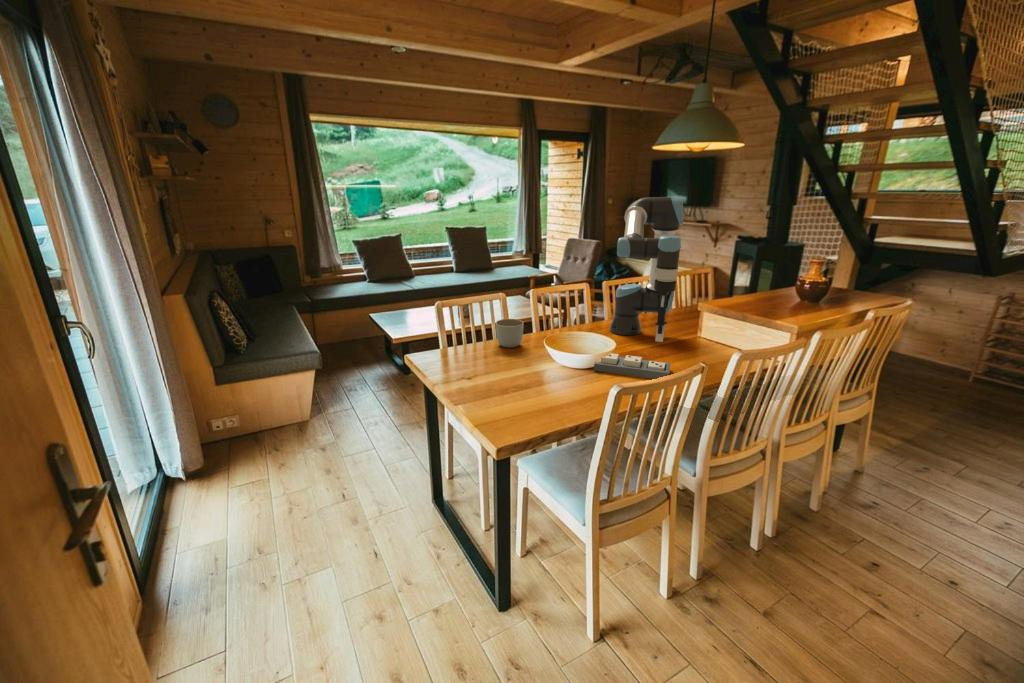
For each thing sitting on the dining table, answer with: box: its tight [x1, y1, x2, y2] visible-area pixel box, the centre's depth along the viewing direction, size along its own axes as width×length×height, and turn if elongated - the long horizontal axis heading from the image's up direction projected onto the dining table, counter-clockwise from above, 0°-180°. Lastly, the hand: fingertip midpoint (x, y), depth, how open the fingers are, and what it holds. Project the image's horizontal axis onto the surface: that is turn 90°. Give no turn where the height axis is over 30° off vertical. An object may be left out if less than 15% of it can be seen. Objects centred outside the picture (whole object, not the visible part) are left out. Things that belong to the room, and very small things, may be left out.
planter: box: [495, 318, 524, 349], centre depth 213 cm, size 12×12×11 cm
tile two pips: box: [624, 354, 643, 367], centre depth 184 cm, size 6×6×3 cm
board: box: [593, 356, 672, 380], centre depth 185 cm, size 11×28×3 cm, turn 69°
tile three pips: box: [648, 360, 666, 371], centre depth 182 cm, size 6×6×3 cm
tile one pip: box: [601, 352, 620, 364], centre depth 187 cm, size 6×6×3 cm
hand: (659, 340), depth 179 cm, fingers closed
